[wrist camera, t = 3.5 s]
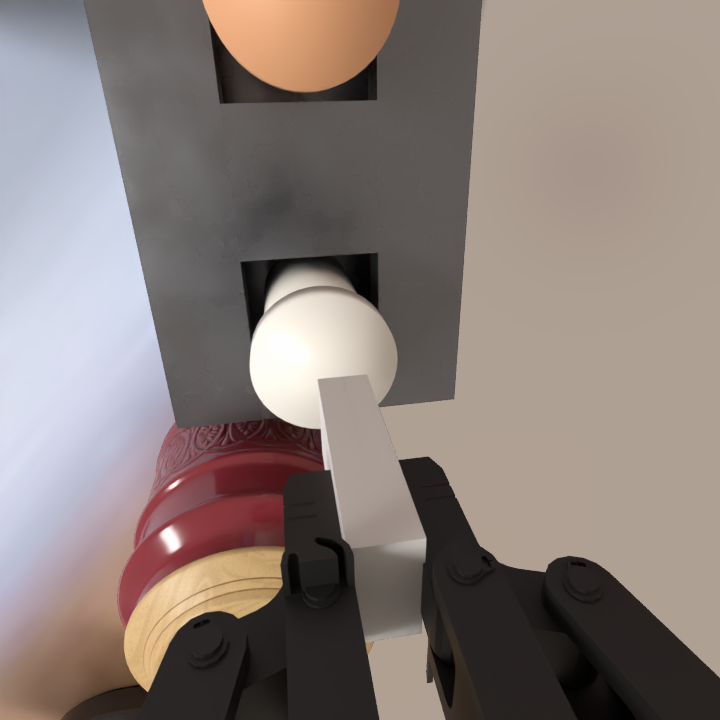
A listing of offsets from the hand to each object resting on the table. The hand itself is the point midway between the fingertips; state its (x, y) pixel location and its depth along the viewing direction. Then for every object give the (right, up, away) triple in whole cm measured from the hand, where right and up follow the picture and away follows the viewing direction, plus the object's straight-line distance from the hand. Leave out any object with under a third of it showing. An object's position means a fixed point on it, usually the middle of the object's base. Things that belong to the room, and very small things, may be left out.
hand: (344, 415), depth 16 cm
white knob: (-2, +5, +12) cm, 13 cm away
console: (-3, +12, +12) cm, 18 cm away
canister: (-7, -5, +20) cm, 22 cm away
